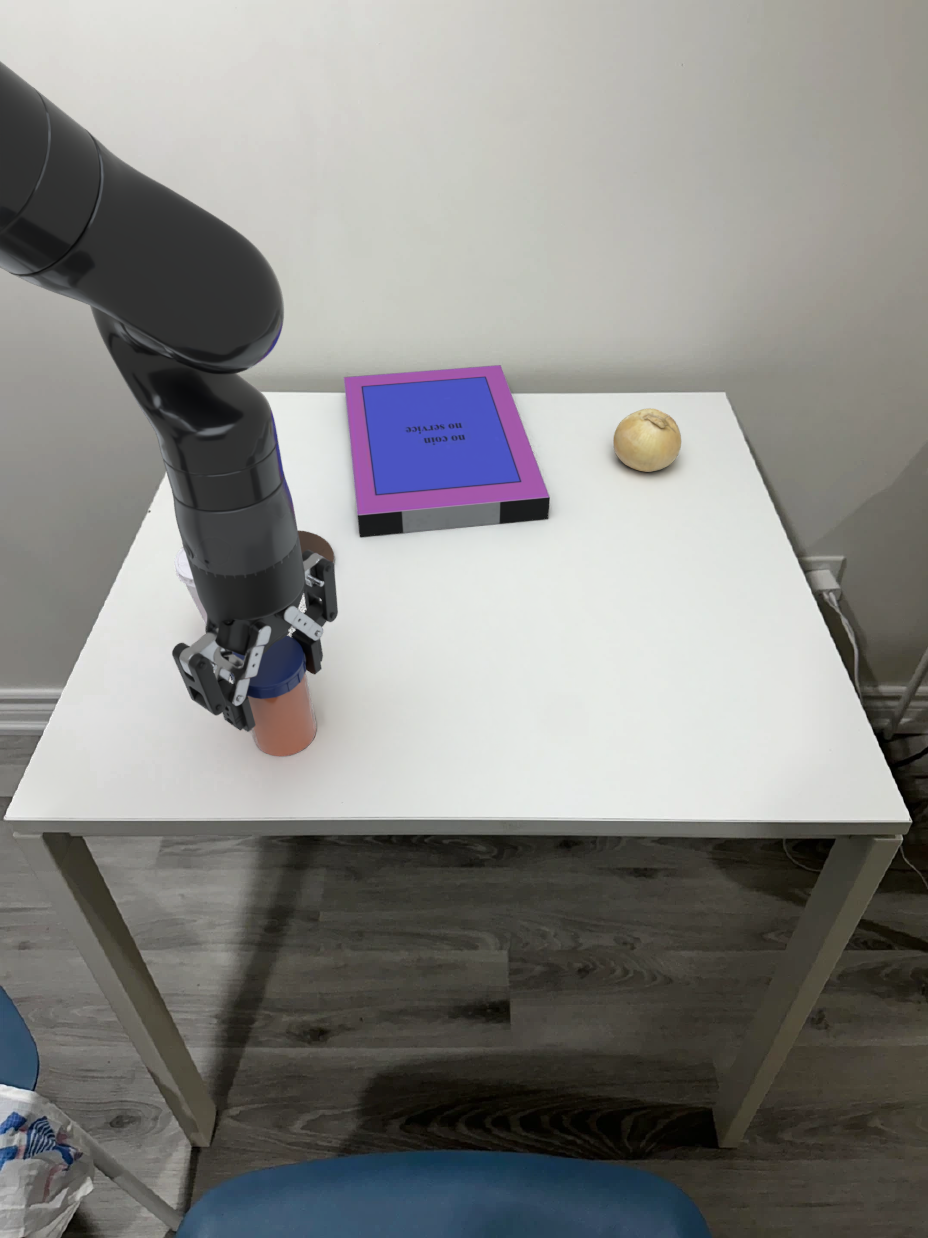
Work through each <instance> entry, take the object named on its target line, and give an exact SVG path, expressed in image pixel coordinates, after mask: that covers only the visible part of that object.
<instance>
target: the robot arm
mask: <svg viewBox="0 0 928 1238" xmlns="http://www.w3.org/2000/svg"><path fill="white" fill-rule="evenodd" d="M0 269H2V270H3V271H6V272H8V273H9V274H11V275H13V276H15V277H17V278H18V279H20V280H22V281H25V282H27V283H30V284H32V285H34V286H36V287H39V288H41V289H43V290H46V291H49V292H52V293H54V294H57V295H61V296H64V297H65V298H69V299H72V300H75V301H79V302H81V303H83V304H85V305H88V306H89V308H90V311H91V313H92V317H93V319H94V323H95V325H96V328H97V330H98V333H99V335H100V337H101V339H102V341H103V344H104V346H105V348H106V350H107V352H108V354H109V355H110V357H111V359H112V361H113V363H114V364H115V366H116V368H117V370H118V371H119V374H120V375H121V377H122V379H123V381H124V383H125V384H126V386H127V388H128V390H129V392H130V393H131V395H132V397H133V399H134V401H135V402H136V404H137V405H138V407H139V408H140V410H141V411H142V413H143V414H144V416H145V418H146V419H147V421H148V422H149V424H150V426H151V428H152V429H153V431H154V433H155V435H156V439H157V444H158V447H159V451H160V455H161V459H162V461H163V465H164V469H165V472H166V477H167V480H168V482H169V487H170V489H171V494H172V498H173V499H172V500H173V509H174V517H175V520H176V521H175V522H176V525H177V528H178V529H177V530H178V532H179V535H180V536H179V537H180V540H181V543H182V547H183V548H184V551H185V553H186V556H187V559H188V563H189V566H190V569H191V573H192V576H193V580H194V583H195V587H196V590H197V593H198V596H199V599H200V601H201V603H202V605H203V607H204V609H205V611H206V613H207V623H206V624H205V628H204V631H205V634H204V635H202V636H201V637H200V638H198V639H197V640H196V641H195V642H194V643H193V644H191V645H190V646H189V645H188V644H187V643H185V642H178V643H177V644H176V645H175V646H174V647H173V648H172V651H171V655H172V658H173V660H174V662H175V665H176V667H177V670H178V672H179V674H180V677H181V679H182V681H183V684H184V685H185V688H186V690H187V692H188V694H189V698H190V699H191V700H192V701H194V703H196V704H198V705H199V706H201V707H202V708H203V709H205V710H207V711H208V712H209V713H211V714H212V715H214V716H219V715H221V714H222V716H223V719H224V721H225V722H227V723H228V724H229V725H231V726H233V728H235V729H237V730H238V731H240V732H241V731H243V730H244V731H245V732H246V733H249V732H250V731H252V730H251V729H252V728H254V727H255V726H256V724H255V720H254V717H253V713H252V709H251V706H250V702H249V698H248V697H247V696H246V694H247V690H248V686H249V682H250V679H251V678H252V677H255V676H256V675H257V673H258V669H259V665H260V661H261V657H262V655H263V654H264V653H265V652H267V650H268V649H269V648H270V647H271V646H272V645H273V644H274V643H275V642H277V641H279V640H281V639H283V638H284V637H285V636H286V635H288V636H289V634H290V629H291V628H292V629H294V631H292V633H291V634H290V635H291V637H292V638H294V639H295V640H296V641H297V642H298V643H299V644H300V645H301V647H302V650H303V653H304V654H305V659H306V662H305V664H306V672H308V673H310V674H312V675H317V674H318V673H319V672H320V671H321V670H322V669H323V668H322V662H323V658H324V653H323V647H322V640H321V638H322V636H323V634H324V625H325V624H326V623H327V622H328V623H333V622H335V620H336V619H337V617H338V615H339V608H338V597H337V595H338V594H337V585H336V584H337V583H336V572H335V570H336V569H335V562H334V563H333V562H331V561H329V560H327V559H326V558H324V557H322V556H321V555H319V554H317V553H314V552H312V551H310V550H305V551H304V552H303V553H301V547H300V541H299V535H298V530H299V529H298V524H297V523H298V522H297V519H296V518H297V517H296V511H295V506H294V502H293V497H292V493H291V489H290V488H289V484H288V482H287V479H286V475H285V472H284V466H283V460H282V459H283V458H282V455H281V454H282V453H281V449H280V443H279V438H278V432H277V426H276V421H275V417H274V414H273V410H272V407H271V405H270V403H269V400H268V399H267V397H266V396H265V395H264V393H263V392H262V391H261V390H259V389H258V388H257V387H256V386H255V385H254V384H252V383H251V382H250V381H248V380H247V379H246V378H244V377H243V376H241V374H239V373H242V372H245V371H248V370H250V369H252V368H254V367H255V366H257V365H259V364H260V363H261V362H263V361H264V360H265V359H266V358H267V357H269V355H270V354H271V352H272V351H273V350H274V349H275V347H276V346H277V344H278V341H279V339H280V337H281V334H282V330H283V326H284V320H285V319H284V318H285V303H284V296H283V291H282V288H281V285H280V282H279V279H278V277H277V274H276V273H275V271H274V268H273V267H272V265H271V263H270V262H269V260H268V259H267V258H266V256H265V255H264V254H263V252H262V251H261V250H260V249H259V247H257V246H256V245H255V244H254V243H253V242H252V241H250V239H248V238H247V237H246V236H245V235H244V234H242V233H241V232H240V231H238V230H237V229H235V228H234V227H232V226H231V225H230V224H228V223H227V222H225V221H223V219H220V218H219V217H217V216H215V215H214V214H212V213H211V212H209V211H208V210H206V209H204V208H203V207H201V206H199V205H198V204H196V203H194V202H193V201H191V200H189V198H186V197H185V196H183V195H181V194H180V193H178V192H177V191H175V190H174V189H172V188H170V187H168V186H166V185H165V184H162V183H161V182H159V181H157V180H155V179H153V178H152V177H150V176H148V175H146V174H145V173H143V172H141V171H139V170H138V169H136V168H135V167H133V166H132V165H130V164H129V163H127V162H125V161H124V160H123V159H121V158H120V157H118V155H116V154H115V153H113V152H112V151H111V150H110V149H109V148H108V147H106V145H104V144H103V143H102V142H101V140H99V139H98V138H97V137H95V135H93V134H92V133H91V132H90V131H89V130H88V129H86V128H85V127H84V126H83V125H81V124H80V123H79V122H78V121H76V120H75V119H74V118H73V117H71V116H70V115H69V114H68V113H66V112H65V111H64V110H62V109H61V108H60V107H59V106H58V105H56V104H55V103H54V102H52V100H50V99H49V98H48V97H46V95H44V94H43V93H41V91H39V90H37V88H35V86H32V85H31V84H30V83H28V81H26V80H25V79H24V78H23V77H21V76H20V75H19V74H17V73H16V72H15V71H14V70H13V69H11V68H10V67H9V66H7V65H6V64H5V63H3V62H2V61H1V60H0ZM303 597H304V605H305V609H306V610H305V611H304V612H302V611H301V610H300V609H299V607H300V604H301V602H302V598H303ZM233 652H235V653H238V654H240V655H243V656H245V658H244V661H243V660H242V659H240V658H238V657H237V656H235V655H234V654H233ZM230 674H233V676H234V682H233V681H232V682H231V681H230V679H231V678H230Z"/></svg>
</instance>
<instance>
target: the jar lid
mask: <svg viewBox="0 0 928 1238" xmlns="http://www.w3.org/2000/svg"><path fill="white" fill-rule="evenodd" d="M233 654H234V655H235V656H237V657H238V658H240V659H242V660H243V661H244V658H245V656H243V655H240V654H238V653H235V652H233ZM305 662H306V659H305V654H304V653H303V650H302V647H301V645H300V644H299V643H298V642H297V641H296V640H295V639H294V638H292V636H290V635H289V634H288V635H286V636H285V637H284V638H283V639H281V640H279V641H277V642H275V643H274V644H273V645H272V646H271V647H270V648H269V649H268V650H267V652H265V653H264V654H263V655H262V657H261V661H260V665H259V669H258V673H257V675H256V676H255V677H252V678H251V679H250V682H249V686H248V690H247V694H246V696H249V697H252V698H258V699H268V698H274V697H275V698H276V697H278V696H281V695H283V694H285V693H287V692H290V691H291V690H292V689H293V688H295V687H296V686H297V685H298V684H299V683H301V680H302V678H303V676H304V674H305V672H306V673H307V670H306V664H305ZM229 679H230V681H232V683H233V682H234V676H233V674H230V678H229Z"/></svg>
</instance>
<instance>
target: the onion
mask: <svg viewBox="0 0 928 1238" xmlns="http://www.w3.org/2000/svg"><path fill="white" fill-rule="evenodd" d="M681 434H682V433H681V430H680V428H679V426H678V423H677V422H676V420H675V419H674V418H673V417H672V416H671V415H669V414H667V413H666V412H664V411H662V410H659V409H657V408H651V407H649V408H643V409H640V410H636V411H634V412H632V413H630V414H628V415H626V416H625V417H624V418H623V419H622V420H621V421H619V423H618V424H617V426H616V428H615V430H614V434H613V440H612V441H613V451H614V453H615V455H616V456H617V458H618V459H619V461H621V462H622V463H623V464H624V465H625V466H626V467H629V468H631V469H633V470H636V471H639V472H646V473H650V472H651V473H652V472H656V471H660V470H662V469H664V468H667V467H669V466H670V465H671V464H672V463H673V462H674V461H675V460H676V458H677V457H678V456H679V454H680V451H681V447H682V435H681Z"/></svg>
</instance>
